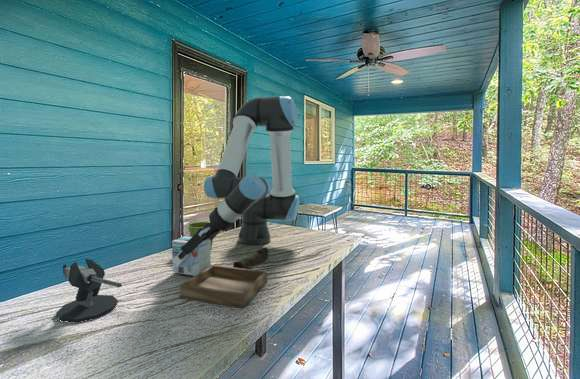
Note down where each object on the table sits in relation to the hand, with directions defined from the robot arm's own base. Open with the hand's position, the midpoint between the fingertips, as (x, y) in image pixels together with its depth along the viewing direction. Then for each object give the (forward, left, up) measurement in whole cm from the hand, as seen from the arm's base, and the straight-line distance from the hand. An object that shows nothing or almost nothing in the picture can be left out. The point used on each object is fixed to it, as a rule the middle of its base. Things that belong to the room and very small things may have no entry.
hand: (182, 259), depth 99 cm
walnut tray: (+8, +21, -4) cm, 22 cm away
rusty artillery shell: (-14, +19, -5) cm, 24 cm away
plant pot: (-22, -6, -4) cm, 23 cm away
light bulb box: (0, +4, -4) cm, 5 cm away
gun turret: (+29, -3, -5) cm, 30 cm away
